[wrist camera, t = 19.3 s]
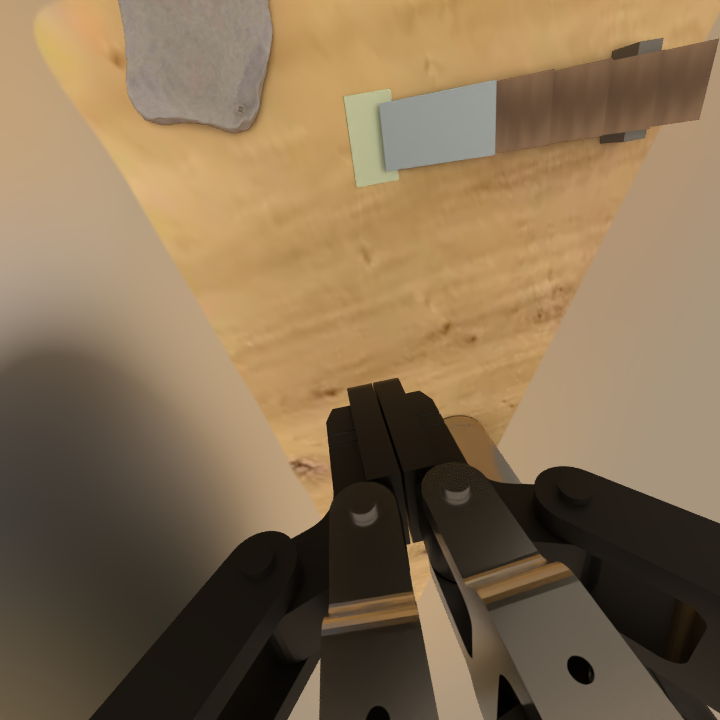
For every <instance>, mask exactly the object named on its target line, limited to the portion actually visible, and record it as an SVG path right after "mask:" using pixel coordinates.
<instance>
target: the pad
mask: <svg viewBox="0 0 720 720" xmlns="http://www.w3.org/2000/svg"><path fill="white" fill-rule="evenodd" d="M390 101H392V99H391V88H390V89H384V90H378V91H372V92H367V93H361V94H355V95H349V96H344V104H345V111H346V118H347V125H348V132H349V138H350V145H351V152H352V159H353V166H354V173H355V180H356V187H363V186H368V185H374V184H379V183H385V182H390V181H396V180H399V174H398V170H393V171H386V164H385V155H384V145H383V136H382V126H381V117H380V107H379V104H380V103H385V102H390Z"/></svg>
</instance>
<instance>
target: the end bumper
mask: <svg viewBox="0 0 720 720" xmlns="http://www.w3.org/2000/svg"><path fill="white" fill-rule="evenodd" d="M662 43H663V38H660V39H654V40H648V41H642V42H638V43H635V44H632V45H629V46H626V47H623V48H620V49H617V50H614V51H613V53H612V58H613V60H617V59H622V58H627V57H632V56H636V55H641V54H646V53H651V52H656V51H661V49H662ZM645 134H646V129H644V130H637V131H630V132H622V133H615V134H607V135H602V136H601V140H600V143H614V142H626V141H632V140H637V139H643V138H645Z"/></svg>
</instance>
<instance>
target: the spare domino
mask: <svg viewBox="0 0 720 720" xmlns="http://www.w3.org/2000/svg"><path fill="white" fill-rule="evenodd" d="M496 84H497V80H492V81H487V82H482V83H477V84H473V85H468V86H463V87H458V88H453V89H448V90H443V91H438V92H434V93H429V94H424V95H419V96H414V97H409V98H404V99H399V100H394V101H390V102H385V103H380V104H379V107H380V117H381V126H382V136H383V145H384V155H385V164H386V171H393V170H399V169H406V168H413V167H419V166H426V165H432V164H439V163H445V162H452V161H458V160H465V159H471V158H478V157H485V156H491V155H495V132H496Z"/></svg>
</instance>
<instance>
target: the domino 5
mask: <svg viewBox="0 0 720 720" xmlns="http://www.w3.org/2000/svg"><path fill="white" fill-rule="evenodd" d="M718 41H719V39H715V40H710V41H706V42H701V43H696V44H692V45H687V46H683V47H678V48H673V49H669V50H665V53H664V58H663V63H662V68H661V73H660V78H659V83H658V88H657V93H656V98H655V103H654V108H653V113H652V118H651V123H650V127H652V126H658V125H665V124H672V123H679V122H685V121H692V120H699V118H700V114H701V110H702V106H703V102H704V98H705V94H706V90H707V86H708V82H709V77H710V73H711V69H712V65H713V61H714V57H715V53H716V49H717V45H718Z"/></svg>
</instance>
